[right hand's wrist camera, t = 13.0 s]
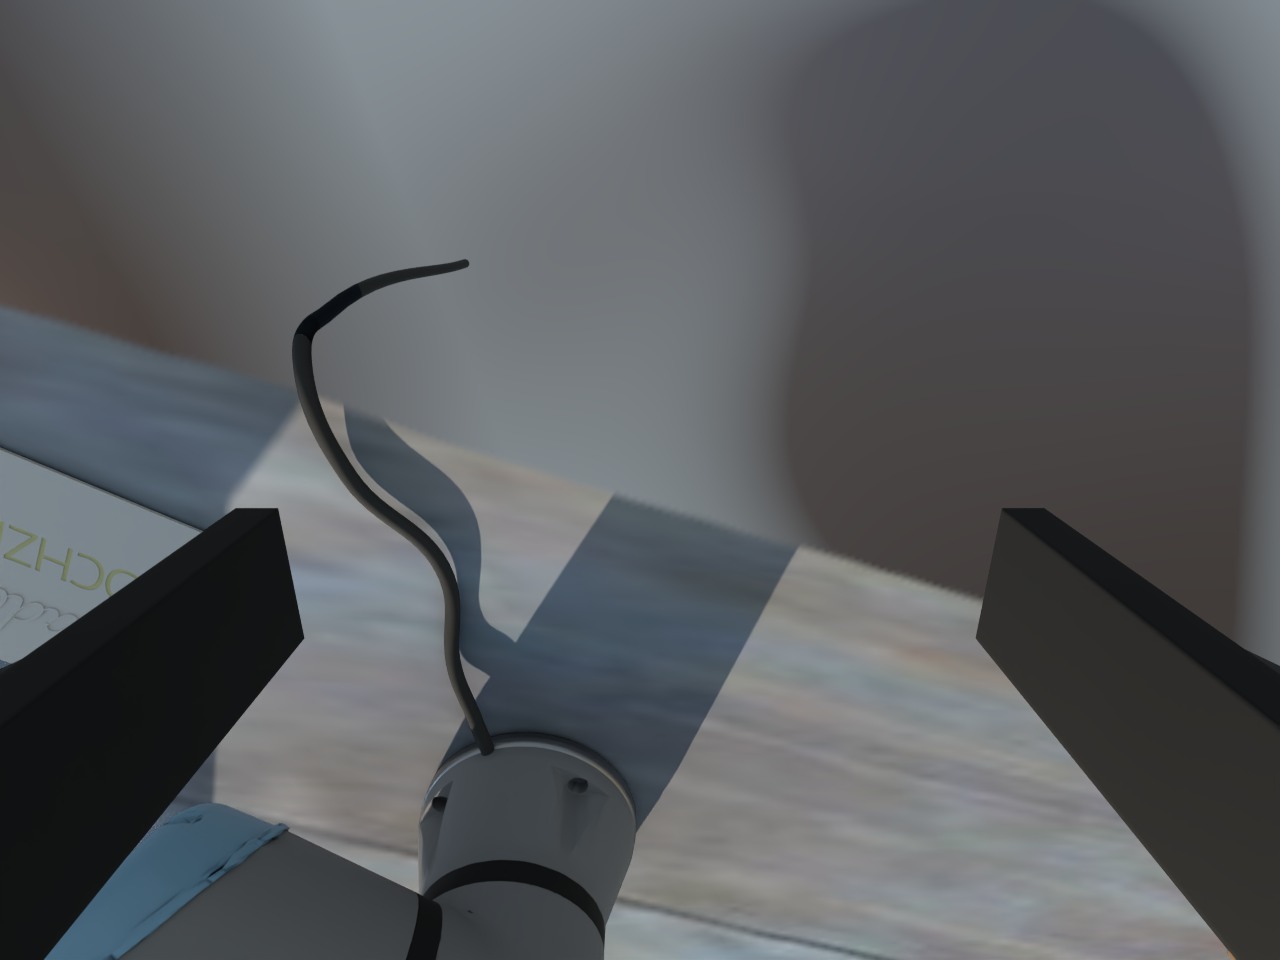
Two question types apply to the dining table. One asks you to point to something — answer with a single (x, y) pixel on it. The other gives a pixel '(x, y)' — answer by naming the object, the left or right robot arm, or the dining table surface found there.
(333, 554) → the dining table surface
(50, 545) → the invitation card
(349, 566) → the dining table surface
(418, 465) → the dining table surface
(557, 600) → the dining table surface
